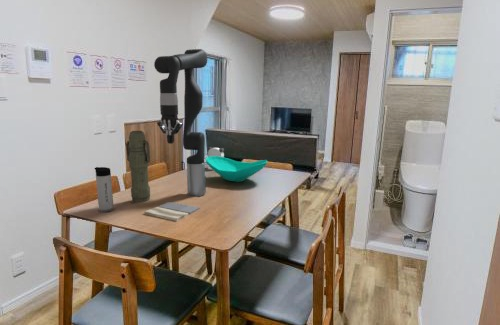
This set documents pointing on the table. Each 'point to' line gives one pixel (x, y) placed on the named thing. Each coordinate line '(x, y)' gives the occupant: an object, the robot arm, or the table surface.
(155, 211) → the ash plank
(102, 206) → the travel mug
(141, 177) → the olive green canister
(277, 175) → the table surface
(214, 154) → the panda figurine
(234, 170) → the table top decor
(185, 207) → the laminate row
